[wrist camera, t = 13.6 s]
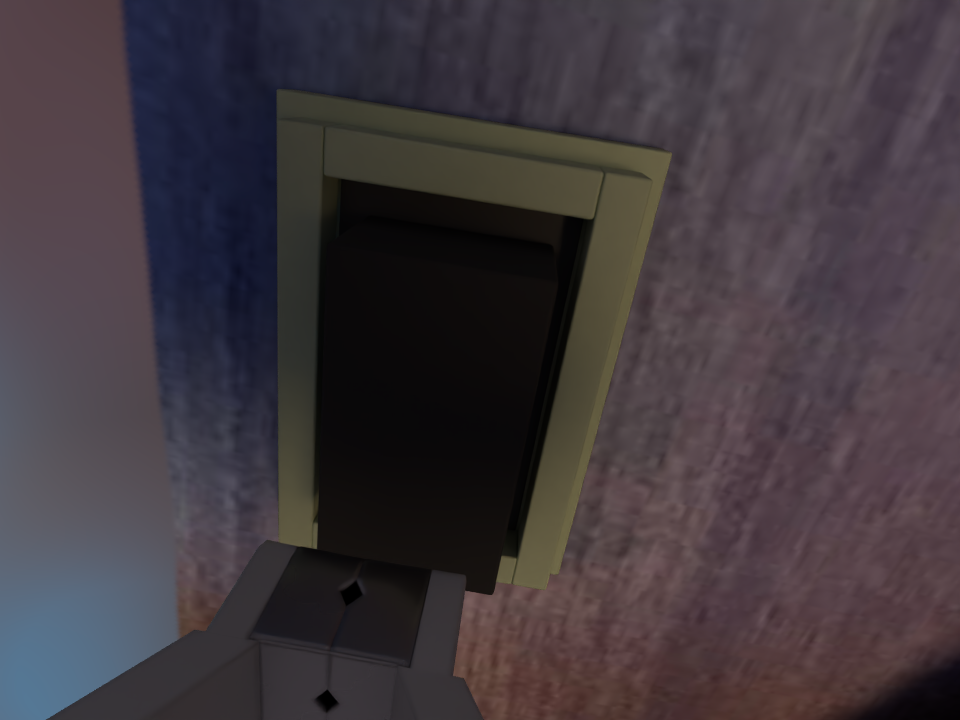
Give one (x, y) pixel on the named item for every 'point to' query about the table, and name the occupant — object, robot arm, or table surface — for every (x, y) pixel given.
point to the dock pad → (474, 208)
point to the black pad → (428, 392)
